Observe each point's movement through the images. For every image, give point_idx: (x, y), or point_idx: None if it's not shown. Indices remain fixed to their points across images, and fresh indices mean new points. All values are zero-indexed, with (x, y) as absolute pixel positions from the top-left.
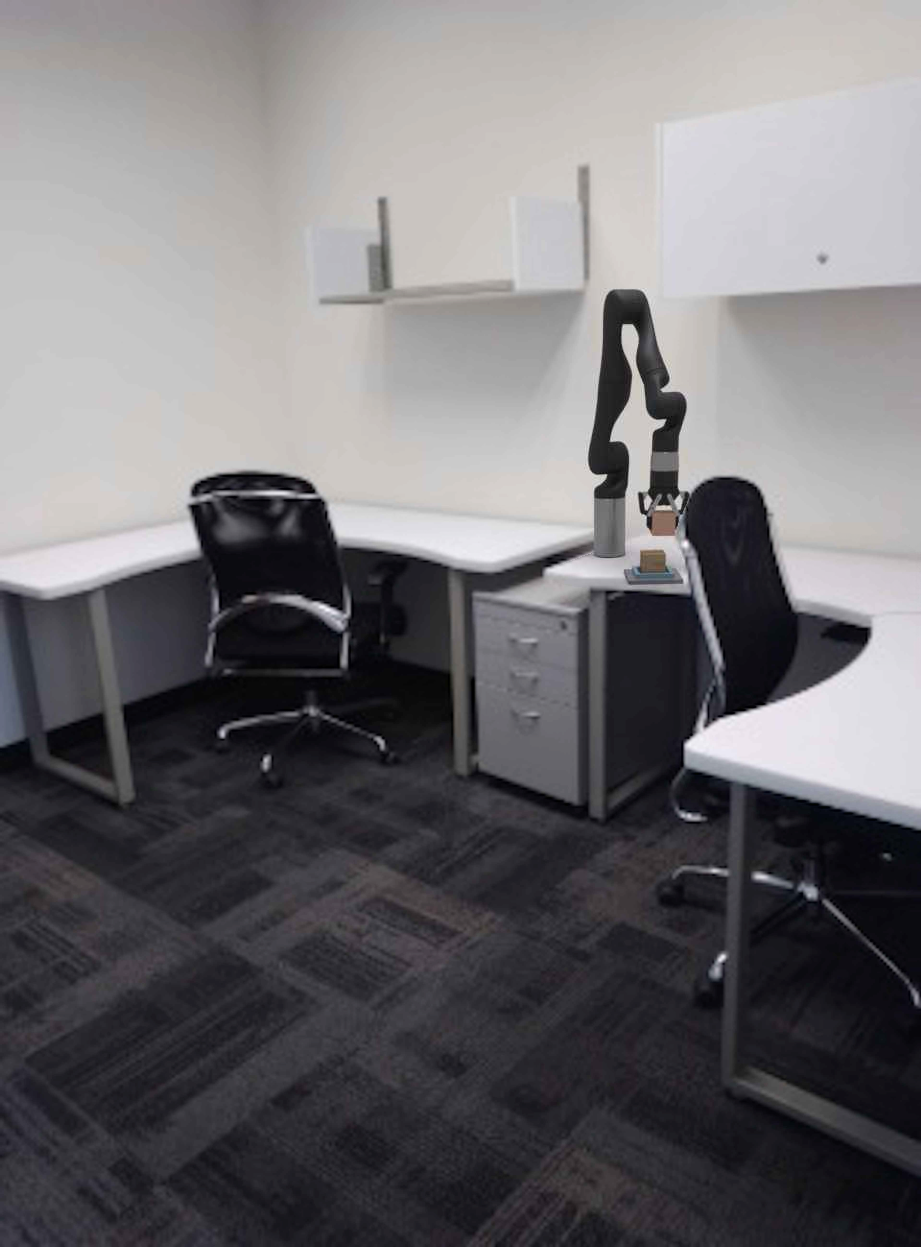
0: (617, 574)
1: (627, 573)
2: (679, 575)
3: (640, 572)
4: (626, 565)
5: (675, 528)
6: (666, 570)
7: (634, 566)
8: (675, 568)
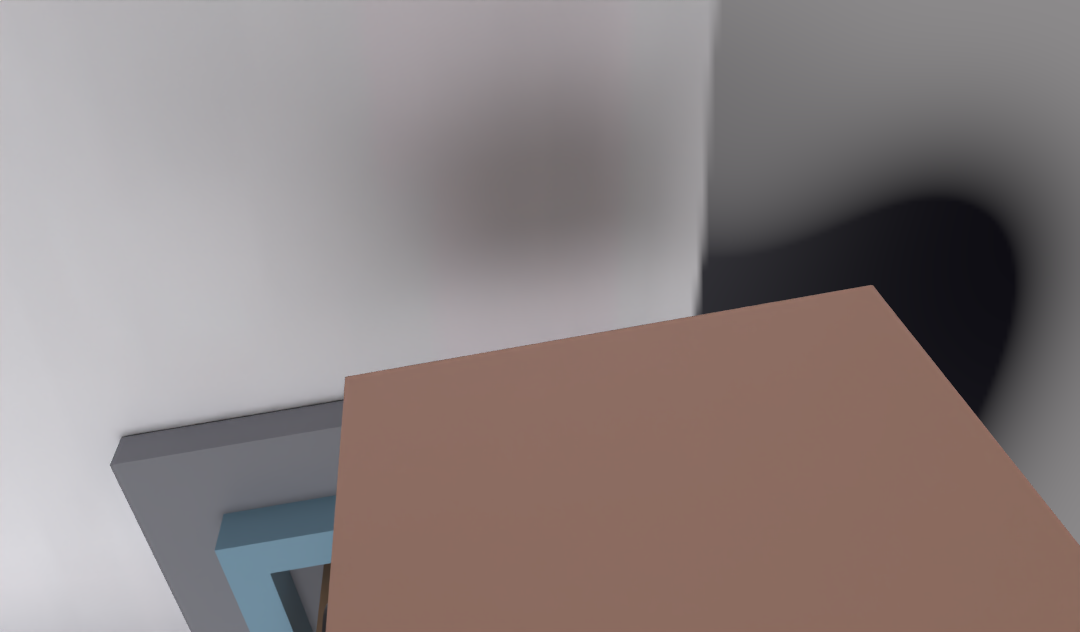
0: (73, 505)
1: (205, 621)
2: None
3: None
4: (24, 31)
5: None
6: None
7: (246, 557)
8: None
